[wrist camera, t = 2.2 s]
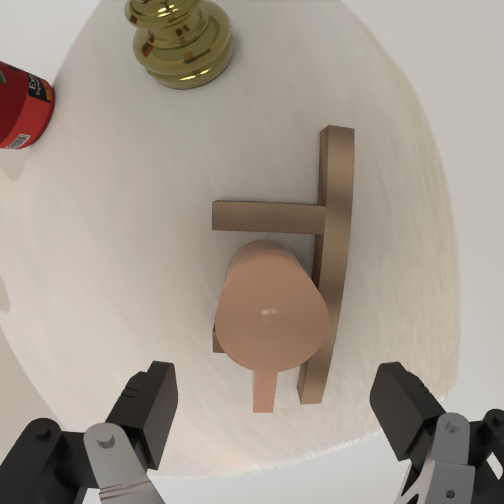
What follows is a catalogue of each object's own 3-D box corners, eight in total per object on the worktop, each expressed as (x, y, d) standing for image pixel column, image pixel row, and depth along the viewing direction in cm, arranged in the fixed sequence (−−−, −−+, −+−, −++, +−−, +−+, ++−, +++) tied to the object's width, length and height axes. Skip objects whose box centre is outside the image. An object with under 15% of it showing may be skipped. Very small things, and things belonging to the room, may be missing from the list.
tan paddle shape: (228, 238, 22) (214, 270, 13) (303, 241, 22) (335, 273, 14) (227, 355, 25) (218, 425, 16) (291, 357, 25) (307, 425, 16)
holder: (219, 126, 20) (216, 118, 18) (343, 134, 20) (354, 128, 18) (217, 387, 25) (215, 403, 23) (316, 387, 26) (321, 403, 23)
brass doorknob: (140, 45, 18) (92, -11, 9) (216, 13, 18) (201, -58, 8) (163, 105, 20) (110, 57, 10) (246, 70, 19) (245, -1, 9)
